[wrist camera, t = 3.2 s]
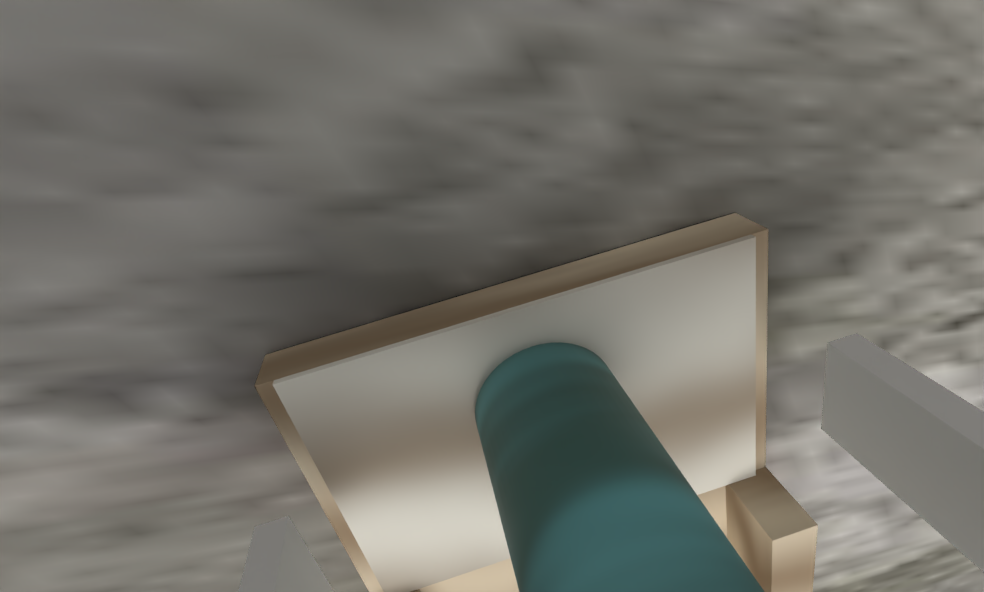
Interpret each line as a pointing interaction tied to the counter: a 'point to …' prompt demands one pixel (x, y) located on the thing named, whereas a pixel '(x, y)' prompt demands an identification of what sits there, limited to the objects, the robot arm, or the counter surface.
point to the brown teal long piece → (593, 484)
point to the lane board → (495, 337)
